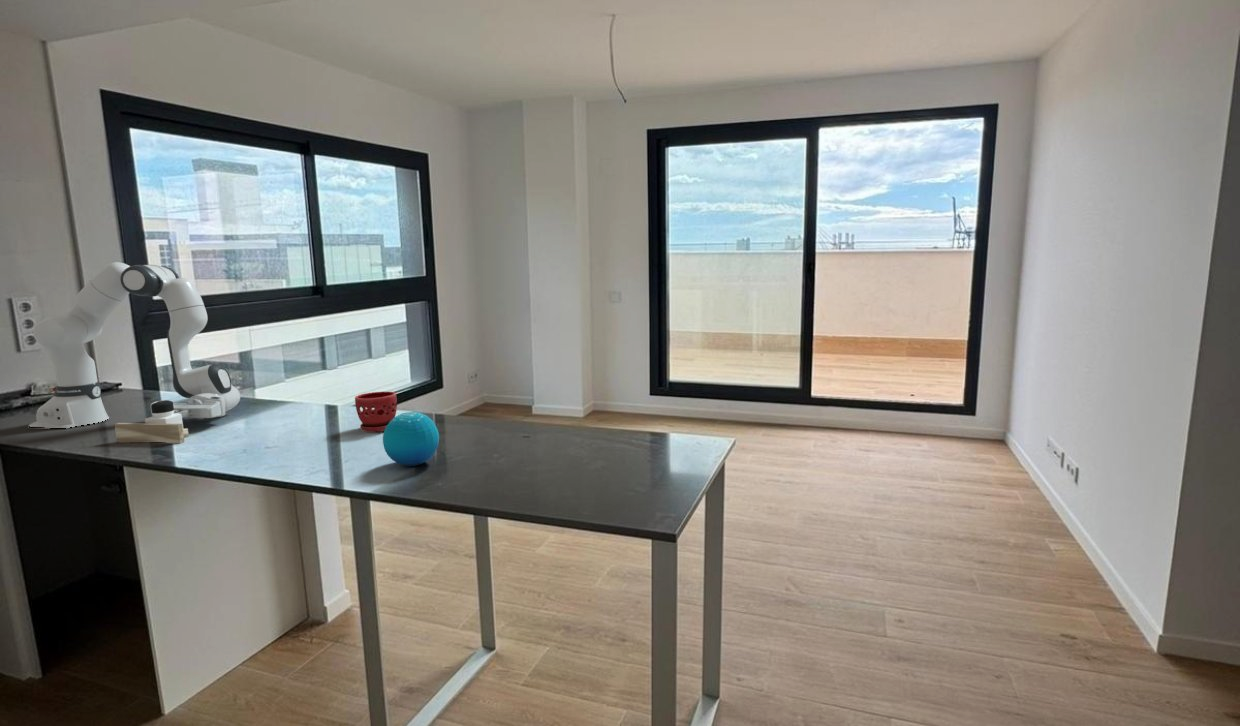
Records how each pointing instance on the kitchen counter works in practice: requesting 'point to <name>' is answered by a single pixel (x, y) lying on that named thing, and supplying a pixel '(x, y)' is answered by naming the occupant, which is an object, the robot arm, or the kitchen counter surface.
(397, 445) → the decorative orb
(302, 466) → the kitchen counter surface
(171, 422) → the medicine bottle
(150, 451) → the kitchen counter surface
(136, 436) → the wooden bay
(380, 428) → the plant pot
